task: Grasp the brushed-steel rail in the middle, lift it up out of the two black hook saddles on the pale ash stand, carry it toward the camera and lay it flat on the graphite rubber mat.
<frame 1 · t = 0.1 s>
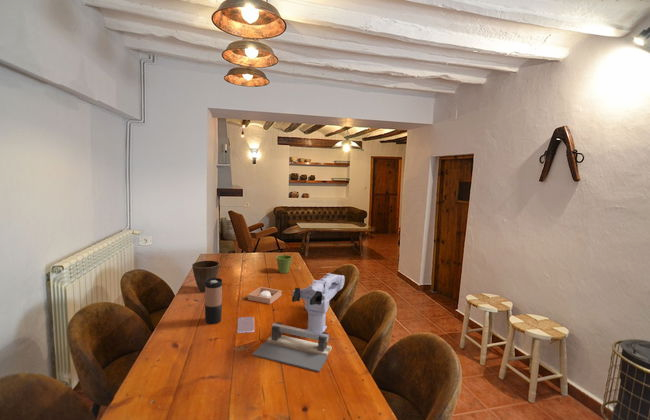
hand: (301, 300, 129), 22 cm above the table, tool horizontal, fingers open, 7 cm apart
rail: (299, 334, 136), point 5 cm above the table, touching hook stand
garlic: (265, 298, 186), resting in garlic dish
plant pot 2: (283, 272, 235), on the table
mat: (290, 356, 128), on the table
plant pot: (205, 290, 192), on the table
garlic dish: (265, 297, 186), on the table
hook stand: (298, 345, 136), on the table
travel mug: (213, 321, 154), on the table
mobile phone: (245, 325, 152), on the table
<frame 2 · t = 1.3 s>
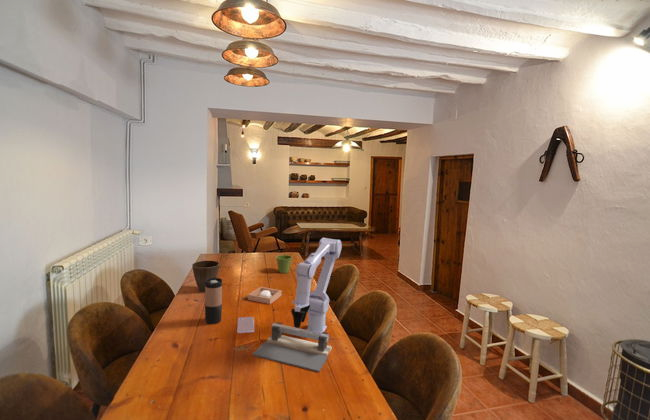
hand: (299, 324, 134), 10 cm above the table, tool pointing down, fingers open, 7 cm apart
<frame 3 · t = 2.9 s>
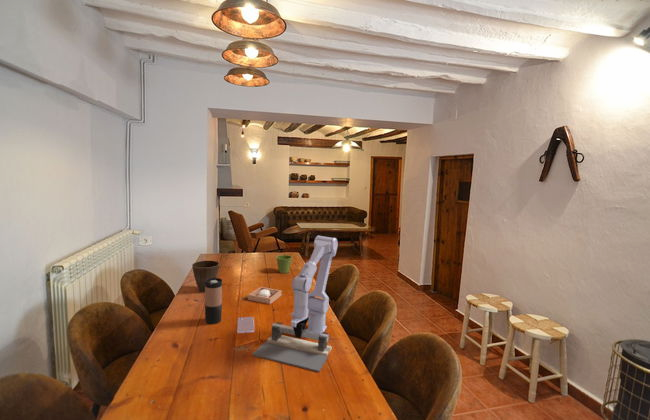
hand: (299, 335, 136), 4 cm above the table, tool pointing down, fingers closed on rail, 2 cm apart
rail: (299, 334, 136), point 5 cm above the table, touching gripper, hook stand
garlic: (264, 296, 188), resting in garlic dish
everything else where it was.
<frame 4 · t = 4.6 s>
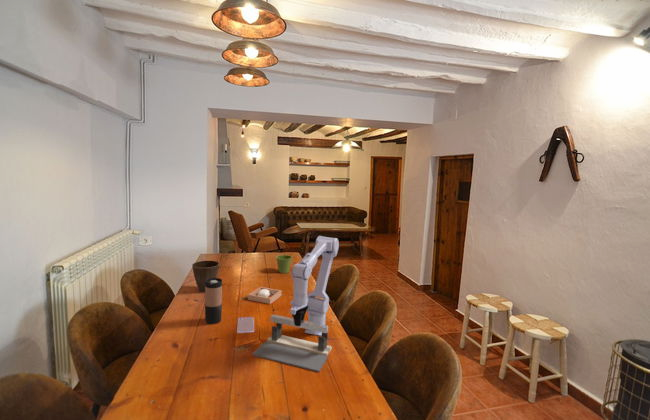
hand: (298, 324, 134), 10 cm above the table, tool pointing down, fingers closed on rail, 2 cm apart
rail: (298, 325, 134), point 9 cm above the table, touching gripper
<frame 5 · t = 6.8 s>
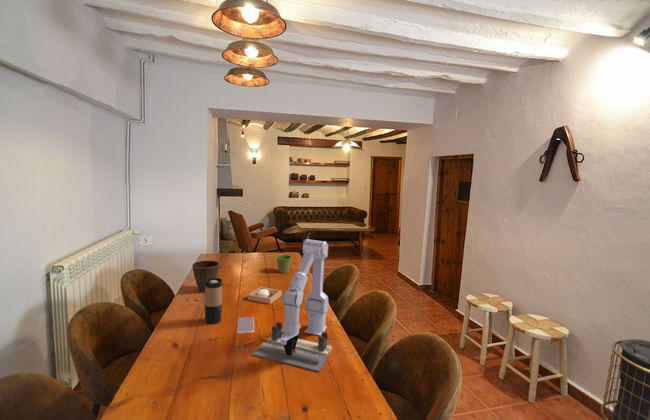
hand: (290, 353, 128), 2 cm above the table, tool pointing down, fingers closed on rail, 2 cm apart
rail: (290, 355, 128), point 1 cm above the table, touching gripper, mat
when the fingers open (1 cm above the table, at t = 7.1 s): rail stays where it is, resting on mat.
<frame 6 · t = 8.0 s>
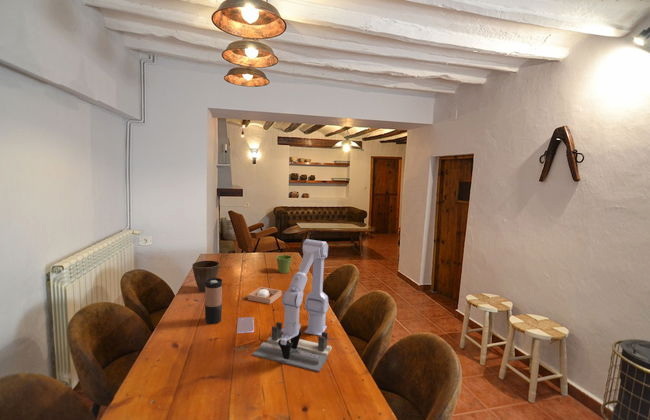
hand: (290, 353, 128), 1 cm above the table, tool pointing down, fingers open, 7 cm apart
rail: (290, 355, 128), point 1 cm above the table, touching mat
garlic: (263, 296, 189), resting in garlic dish
everything else where it was.
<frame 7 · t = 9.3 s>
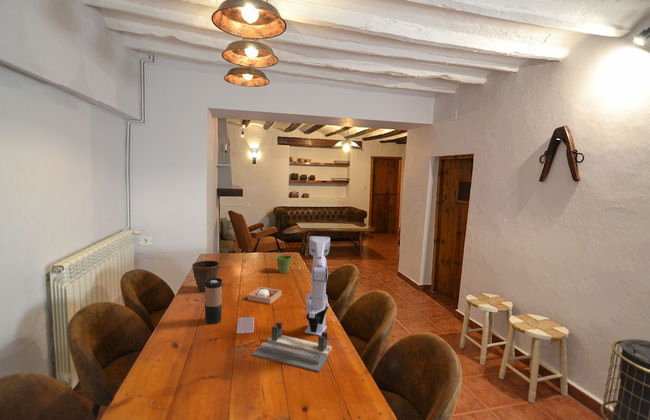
hand: (316, 327, 133), 9 cm above the table, tool pointing down, fingers open, 7 cm apart
garlic: (263, 296, 189), resting in garlic dish
everything else where it was.
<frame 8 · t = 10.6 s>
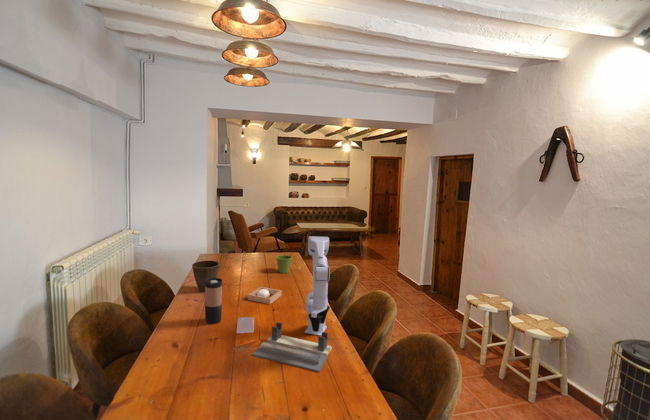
hand: (318, 327, 134), 9 cm above the table, tool pointing down, fingers open, 7 cm apart
nothing on the table moved.
at the end: rail inside the target area (0.1 cm from its centre), point 0.6 cm above the table; rail touching mat; the gripper is holding nothing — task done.
